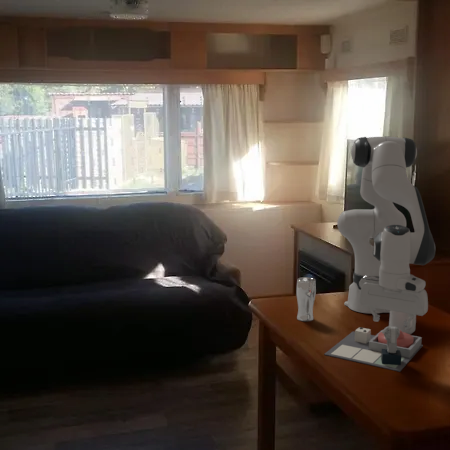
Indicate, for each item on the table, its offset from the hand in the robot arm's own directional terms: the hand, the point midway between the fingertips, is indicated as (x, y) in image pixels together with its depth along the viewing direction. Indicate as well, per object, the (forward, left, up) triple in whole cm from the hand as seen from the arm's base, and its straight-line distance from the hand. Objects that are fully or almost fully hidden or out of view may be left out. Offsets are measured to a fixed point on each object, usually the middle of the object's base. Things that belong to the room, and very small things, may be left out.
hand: (391, 323), depth 191 cm
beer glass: (-23, -39, -12) cm, 47 cm away
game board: (-6, -7, -12) cm, 15 cm away
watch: (+1, +1, -12) cm, 12 cm away
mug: (-28, -4, -12) cm, 31 cm away
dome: (-12, -2, -11) cm, 16 cm away
